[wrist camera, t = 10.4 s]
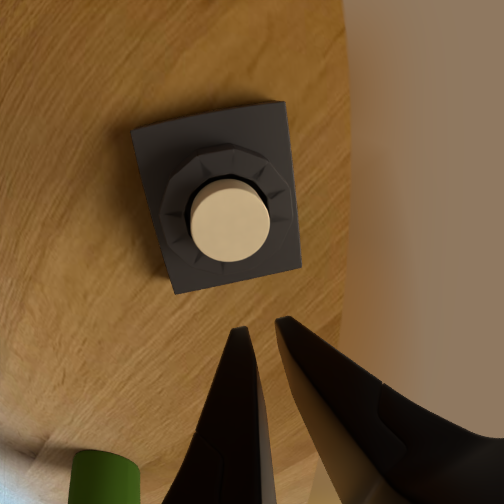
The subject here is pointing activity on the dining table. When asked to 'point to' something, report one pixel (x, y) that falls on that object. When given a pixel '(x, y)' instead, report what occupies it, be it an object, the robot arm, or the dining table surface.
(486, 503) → the robot arm
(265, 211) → the button
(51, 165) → the dining table surface
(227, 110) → the block
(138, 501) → the wine bottle
